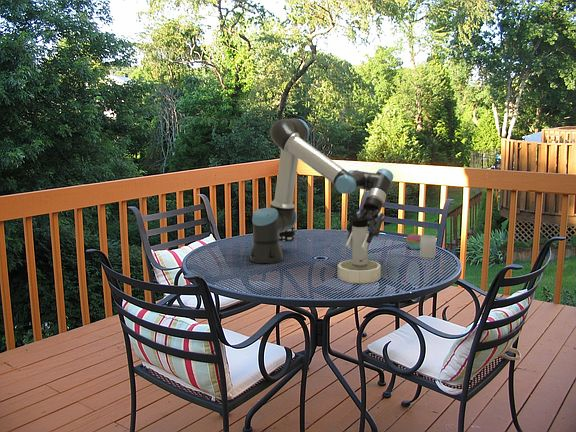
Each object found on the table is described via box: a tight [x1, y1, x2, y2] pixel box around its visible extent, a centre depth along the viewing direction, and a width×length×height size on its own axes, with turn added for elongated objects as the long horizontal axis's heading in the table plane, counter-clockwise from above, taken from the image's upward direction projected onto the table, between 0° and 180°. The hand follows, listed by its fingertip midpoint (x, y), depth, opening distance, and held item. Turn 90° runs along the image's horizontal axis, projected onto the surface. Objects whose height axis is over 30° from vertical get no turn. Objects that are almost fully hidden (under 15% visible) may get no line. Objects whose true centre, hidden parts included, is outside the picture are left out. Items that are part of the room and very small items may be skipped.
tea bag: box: [419, 234, 437, 259], centre depth 249 cm, size 4×7×10 cm, turn 69°
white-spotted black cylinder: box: [278, 201, 296, 242], centre depth 287 cm, size 8×8×20 cm
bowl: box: [337, 259, 382, 285], centre depth 222 cm, size 17×17×5 cm
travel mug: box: [351, 217, 369, 268], centre depth 219 cm, size 6×7×20 cm
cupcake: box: [405, 226, 422, 250], centre depth 265 cm, size 9×8×12 cm
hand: (355, 247), depth 217 cm, fingers closed on travel mug, 6 cm apart
